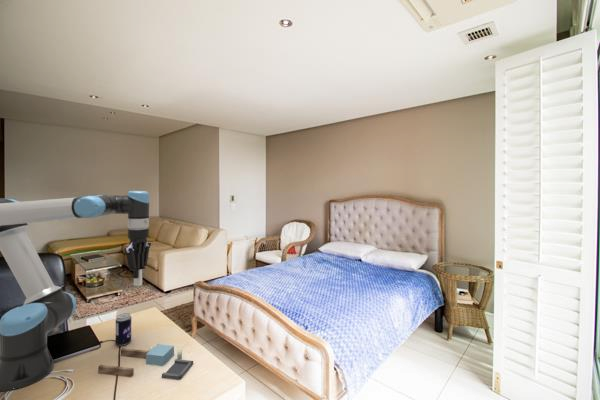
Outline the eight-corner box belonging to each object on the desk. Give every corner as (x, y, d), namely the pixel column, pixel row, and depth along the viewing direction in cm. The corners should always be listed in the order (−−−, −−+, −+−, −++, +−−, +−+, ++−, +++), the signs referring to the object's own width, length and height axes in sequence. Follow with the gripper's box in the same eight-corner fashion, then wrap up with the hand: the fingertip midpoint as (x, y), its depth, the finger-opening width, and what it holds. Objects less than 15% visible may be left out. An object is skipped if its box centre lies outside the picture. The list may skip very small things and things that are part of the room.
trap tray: (161, 377, 98) (161, 374, 98) (175, 362, 106) (176, 359, 106) (180, 379, 97) (180, 376, 97) (193, 364, 106) (193, 360, 106)
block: (145, 364, 105) (146, 354, 105) (157, 353, 112) (157, 344, 112) (163, 366, 104) (163, 356, 104) (173, 355, 111) (173, 345, 111)
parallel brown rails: (98, 373, 99) (98, 366, 99) (122, 354, 110) (122, 348, 110) (131, 377, 98) (131, 370, 97) (152, 357, 109) (152, 351, 109)
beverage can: (123, 347, 115) (123, 319, 115) (112, 345, 116) (112, 317, 116) (134, 340, 120) (134, 313, 120) (123, 338, 122) (123, 312, 121)
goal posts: (148, 356, 110) (148, 348, 110) (150, 353, 111) (150, 346, 111) (180, 359, 108) (180, 352, 108) (182, 357, 110) (182, 349, 110)
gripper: (135, 231, 107) (135, 291, 108) (157, 226, 120) (156, 280, 121) (118, 230, 108) (117, 290, 108) (141, 226, 121) (140, 279, 121)
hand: (138, 285), depth 114 cm, fingers closed
